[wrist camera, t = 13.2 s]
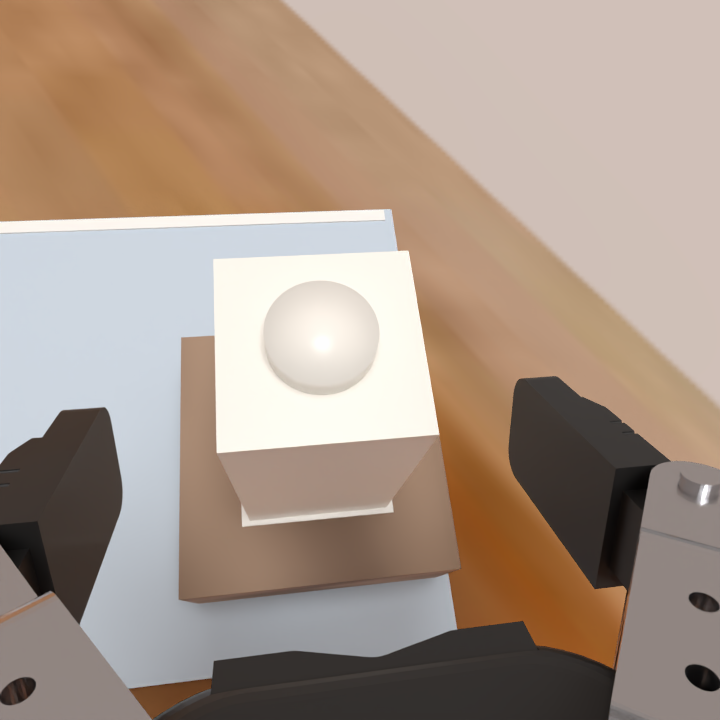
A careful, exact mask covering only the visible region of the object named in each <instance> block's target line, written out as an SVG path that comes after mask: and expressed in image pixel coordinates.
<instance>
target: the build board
mask: <svg viewBox="0 0 720 720" xmlns="http://www.w3.org/2000/svg"><path fill="white" fill-rule="evenodd" d="M390 251H398V250H397V243H396V237H395V231H394V224H393V218H392V212H391V209H382V210H351V211H319V212H288V213H257V214H226V215H195V216H164V217H133V218H101V219H70V220H39V221H8V222H0V464H1V462H2V461H3V460H4V458H5V457H6V456H7V455H8V453H10V452H11V451H13V450H14V449H16V448H17V447H19V446H21V445H22V444H24V443H25V442H27V441H28V440H30V439H31V438H40V437H43V435H44V434H45V433H46V431H47V430H48V428H49V427H50V425H51V424H52V423H53V421H54V420H55V418H56V417H57V415H58V414H59V413H60V412H61V411H62V410H71V409H85V408H99V407H105V408H106V409H107V410H108V412H109V415H110V418H111V423H112V428H113V434H114V439H115V445H116V450H117V456H118V462H119V467H120V473H121V478H122V488H123V498H122V507H121V512H120V515H119V518H118V521H117V523H116V526H115V529H114V532H113V534H112V537H111V540H110V543H109V545H108V548H107V551H106V554H105V556H104V559H103V562H102V565H101V567H100V570H99V573H98V576H97V578H96V581H95V584H94V587H93V589H92V592H91V595H90V598H89V600H88V603H87V606H86V609H85V611H84V614H83V617H82V620H81V622H80V627H81V628H82V629H83V631H84V632H85V633H86V634H87V636H88V637H89V638H90V640H91V641H92V642H93V644H94V645H95V646H96V647H97V649H98V650H99V651H100V653H101V654H102V655H103V657H104V658H105V659H106V661H107V662H108V663H109V664H110V666H111V667H112V668H113V670H114V671H115V672H116V674H117V675H118V676H119V677H120V679H121V680H122V681H123V683H124V684H125V685H126V687H127V688H128V689H130V688H138V687H146V686H154V685H161V684H169V683H177V682H185V681H193V680H201V679H209V678H212V674H213V663H214V661H216V660H224V659H232V658H240V657H247V656H255V655H263V654H271V653H279V652H286V651H305V652H316V653H328V654H339V655H351V656H362V657H379V656H383V655H386V654H389V653H392V652H394V651H397V650H400V649H402V648H405V647H408V646H411V645H413V644H416V643H419V642H421V641H424V640H427V639H429V638H432V637H435V636H437V635H440V634H443V633H445V632H448V631H451V630H457V626H456V620H455V613H454V607H453V600H452V594H451V588H450V581H449V575H448V573H450V572H453V571H456V570H459V569H461V564H460V558H459V552H458V546H457V540H456V534H455V528H454V522H453V516H452V510H451V504H450V498H449V492H448V486H447V480H446V474H445V468H444V462H443V455H442V449H441V443H440V437H439V436H438V437H437V439H436V440H435V441H434V443H433V444H432V445H431V447H430V448H429V449H428V451H427V452H426V454H425V455H424V456H423V458H422V459H421V460H420V462H419V463H418V465H417V466H416V467H415V469H414V470H413V471H412V473H411V474H410V476H409V477H408V478H407V480H406V481H405V482H404V484H403V485H402V486H401V488H400V489H399V491H398V492H397V493H396V495H395V496H394V497H393V499H392V500H391V502H390V503H389V504H388V506H387V507H386V508H377V509H367V510H356V511H346V512H336V513H326V514H316V515H305V516H295V517H285V518H275V519H265V520H255V521H250V520H249V518H248V516H247V514H246V512H245V510H244V508H243V506H242V504H241V501H240V499H239V497H238V495H237V493H236V491H235V489H234V487H233V485H232V483H231V481H230V479H229V477H228V475H227V473H226V471H225V469H224V467H223V465H222V463H221V461H220V459H219V457H218V455H217V444H216V387H215V329H214V271H213V259H228V258H251V257H274V256H297V255H320V254H343V253H366V252H390ZM421 329H422V328H421Z"/></svg>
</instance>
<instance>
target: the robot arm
mask: <svg viewBox="0 0 720 720" xmlns="http://www.w3.org/2000/svg"><path fill="white" fill-rule="evenodd" d="M621 421H622V420H620V419H619V418H618V417H617V416H616V415H614V414H613V413H612V412H611V411H610V410H608V409H607V408H606V407H604V406H601V405H599V404H597V403H595V402H593V401H590V400H588V399H586V398H584V397H580V396H579V395H578V394H577V393H576V392H575V391H573V390H572V389H571V388H570V387H569V386H568V385H566V384H565V383H564V382H563V381H562V380H561V379H559V378H558V377H556V376H552V377H538V378H523V379H519V380H518V381H517V383H516V385H515V389H514V396H513V406H512V417H511V427H510V438H509V460H510V465H511V469H512V472H513V474H514V476H515V478H516V479H517V481H518V482H519V483H520V485H521V486H522V488H523V489H524V490H525V492H526V493H527V495H528V496H529V497H530V499H531V500H532V502H533V503H534V504H535V506H536V507H537V509H538V510H539V511H540V513H541V514H542V516H543V517H544V518H545V520H546V521H547V523H548V524H549V525H550V527H551V528H552V530H553V531H554V532H555V534H556V535H557V537H558V538H559V539H560V541H561V542H562V544H563V545H564V546H565V548H566V549H567V551H568V552H569V553H570V555H571V556H572V558H573V559H574V560H575V562H576V563H577V565H578V566H579V567H580V569H581V570H582V572H583V573H584V574H585V576H586V577H587V579H588V580H589V581H590V583H591V584H592V586H593V587H594V588H595V589H599V588H608V587H616V586H624V587H625V588H626V590H627V593H626V598H625V603H624V608H623V614H622V619H621V625H620V630H619V636H618V641H617V647H616V652H615V657H614V663H613V668H610V667H608V666H606V665H604V664H602V663H600V662H597V661H595V660H592V659H589V658H587V657H584V656H582V655H578V654H575V653H571V652H568V651H565V650H560V649H555V648H550V647H545V646H536V645H535V643H534V641H533V640H532V638H531V636H530V634H529V632H528V630H527V628H526V626H525V624H524V622H523V621H520V622H513V623H505V624H497V625H489V626H481V627H474V628H466V629H458V630H451V631H448V632H445V633H443V634H440V635H437V636H435V637H432V638H429V639H427V640H424V641H421V642H419V643H416V644H413V645H411V646H408V647H405V648H402V649H400V650H397V651H394V652H392V653H389V654H386V655H383V656H379V657H362V656H351V655H339V654H328V653H316V652H305V651H286V652H279V653H271V654H263V655H255V656H247V657H240V658H232V659H224V660H216V661H214V663H213V674H212V685H211V689H208V690H206V691H203V692H200V693H198V694H196V695H194V696H192V697H190V698H188V699H185V700H183V701H181V702H179V703H178V704H176V705H174V706H173V707H171V708H169V709H168V710H166V711H165V712H163V713H161V714H160V715H158V716H157V717H155V718H154V719H153V720H720V470H719V469H716V468H713V467H710V466H707V465H703V464H699V463H693V462H685V461H672V462H671V461H670V460H669V459H667V458H666V457H665V456H664V455H663V454H661V453H660V452H659V451H658V450H657V449H655V448H654V447H653V446H652V445H651V444H649V443H648V442H647V441H646V440H645V439H643V438H642V437H641V436H640V435H638V434H635V433H634V430H632V429H631V428H630V427H629V426H628V425H626V424H625V423H622V422H621ZM122 498H123V488H122V478H121V473H120V467H119V462H118V456H117V450H116V445H115V439H114V434H113V428H112V423H111V418H110V415H109V412H108V410H107V409H106V408H105V407H99V408H85V409H71V410H62V411H61V412H60V413H59V414H58V415H57V417H56V418H55V420H54V421H53V423H52V424H51V425H50V427H49V428H48V430H47V431H46V433H45V434H44V435H43V437H40V438H31V439H30V440H28V441H27V442H25V443H24V444H22V445H21V446H19V447H17V448H16V449H14V450H13V451H11V452H10V453H8V455H7V456H6V457H5V458H4V460H3V461H2V462H1V464H0V720H152V719H151V718H150V716H149V715H148V714H147V713H146V711H145V710H144V709H143V707H142V706H141V705H140V703H139V702H138V701H137V700H136V698H135V697H134V696H133V694H132V693H131V692H130V690H129V689H128V688H127V687H126V685H125V684H124V683H123V681H122V680H121V679H120V677H119V676H118V675H117V674H116V672H115V671H114V670H113V668H112V667H111V666H110V664H109V663H108V662H107V661H106V659H105V658H104V657H103V655H102V654H101V653H100V651H99V650H98V649H97V647H96V646H95V645H94V644H93V642H92V641H91V640H90V638H89V637H88V636H87V634H86V633H85V632H84V631H83V629H82V628H81V627H80V622H81V620H82V617H83V614H84V611H85V609H86V606H87V603H88V600H89V598H90V595H91V592H92V589H93V587H94V584H95V581H96V578H97V576H98V573H99V570H100V567H101V565H102V562H103V559H104V556H105V554H106V551H107V548H108V545H109V543H110V540H111V537H112V534H113V532H114V529H115V526H116V523H117V521H118V518H119V515H120V512H121V507H122Z"/></svg>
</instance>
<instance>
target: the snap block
mask: <svg viewBox="0 0 720 720" xmlns="http://www.w3.org/2000/svg"><path fill="white" fill-rule="evenodd" d="M213 271H214V329H215V387H216V444H217V455H218V457H219V459H220V461H221V463H222V465H223V467H224V469H225V471H226V473H227V475H228V477H229V479H230V481H231V483H232V485H233V487H234V489H235V491H236V493H237V495H238V497H239V499H240V501H241V504H242V506H243V508H244V510H245V512H246V514H247V516H248V518H249V520H250V521H255V520H265V519H275V518H285V517H295V516H305V515H316V514H326V513H336V512H346V511H356V510H367V509H377V508H386V507H387V506H388V504H389V503H390V502H391V500H392V499H393V497H394V496H395V495H396V493H397V492H398V491H399V489H400V488H401V486H402V485H403V484H404V482H405V481H406V480H407V478H408V477H409V476H410V474H411V473H412V471H413V470H414V469H415V467H416V466H417V465H418V463H419V462H420V460H421V459H422V458H423V456H424V455H425V454H426V452H427V451H428V449H429V448H430V447H431V445H432V444H433V443H434V441H435V440H436V439H437V437H438V436H439V430H438V424H437V418H436V412H435V406H434V400H433V394H432V388H431V382H430V376H429V370H428V364H427V358H426V352H425V346H424V340H423V335H422V329H421V323H420V317H419V311H418V305H417V299H416V293H415V287H414V281H413V275H412V269H411V263H410V257H409V251H390V252H366V253H343V254H320V255H297V256H274V257H251V258H228V259H213Z"/></svg>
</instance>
